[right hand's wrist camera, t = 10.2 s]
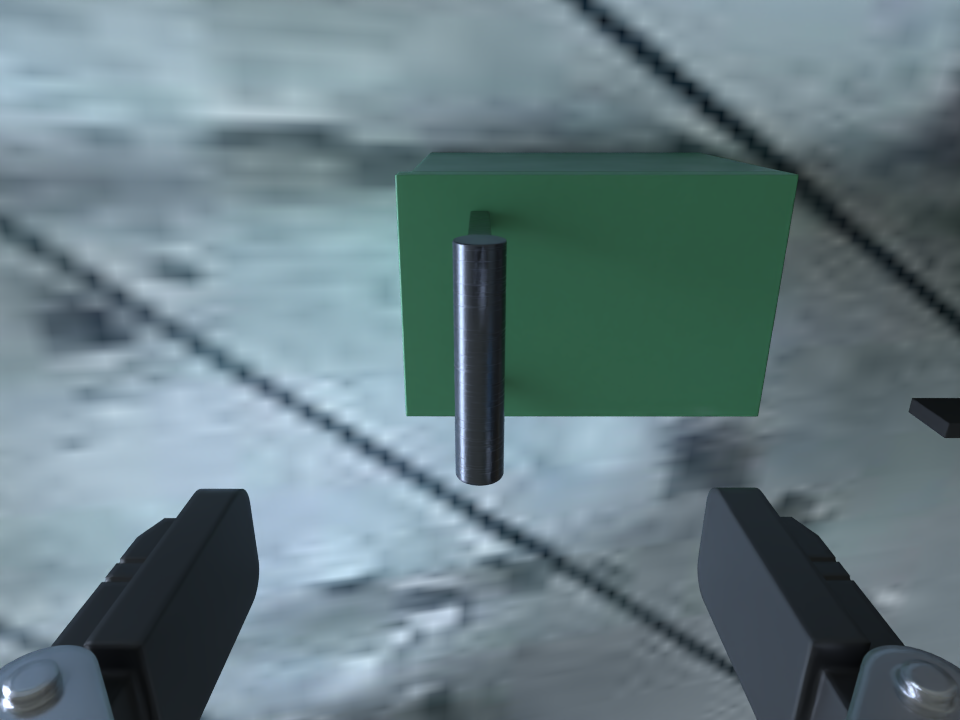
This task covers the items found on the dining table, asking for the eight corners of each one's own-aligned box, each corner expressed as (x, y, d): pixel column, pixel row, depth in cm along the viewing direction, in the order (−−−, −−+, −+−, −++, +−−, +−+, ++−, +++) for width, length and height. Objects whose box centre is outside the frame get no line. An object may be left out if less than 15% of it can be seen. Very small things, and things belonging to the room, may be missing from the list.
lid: (408, 405, 27) (381, 517, 20) (398, 171, 24) (361, 201, 17) (747, 405, 27) (847, 517, 20) (785, 171, 24) (922, 202, 17)
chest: (434, 327, 37) (418, 404, 27) (429, 152, 33) (410, 171, 24) (679, 327, 37) (747, 404, 27) (699, 152, 33) (785, 171, 24)
